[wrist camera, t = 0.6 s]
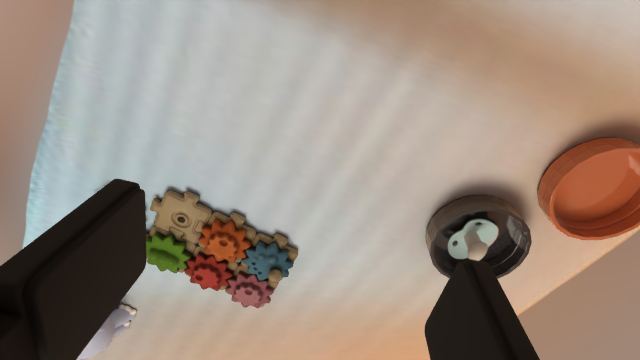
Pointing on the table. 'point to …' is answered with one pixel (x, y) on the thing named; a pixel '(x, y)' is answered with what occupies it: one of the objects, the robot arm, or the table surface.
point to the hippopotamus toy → (109, 331)
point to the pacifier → (473, 239)
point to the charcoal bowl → (455, 215)
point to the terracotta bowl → (594, 189)
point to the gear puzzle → (216, 249)
